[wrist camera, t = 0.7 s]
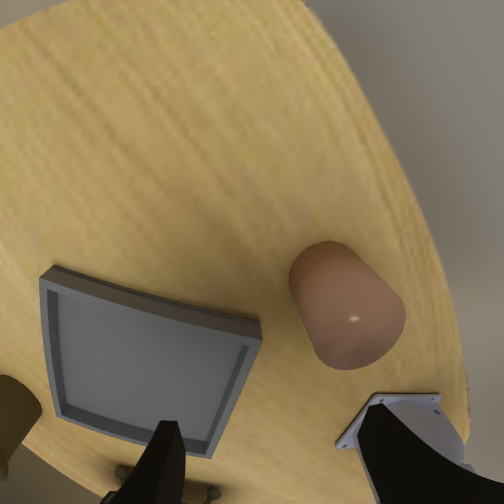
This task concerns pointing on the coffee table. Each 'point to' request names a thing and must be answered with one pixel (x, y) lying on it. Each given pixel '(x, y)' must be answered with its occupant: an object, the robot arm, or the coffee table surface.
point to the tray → (142, 360)
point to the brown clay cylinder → (345, 306)
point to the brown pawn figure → (14, 418)
